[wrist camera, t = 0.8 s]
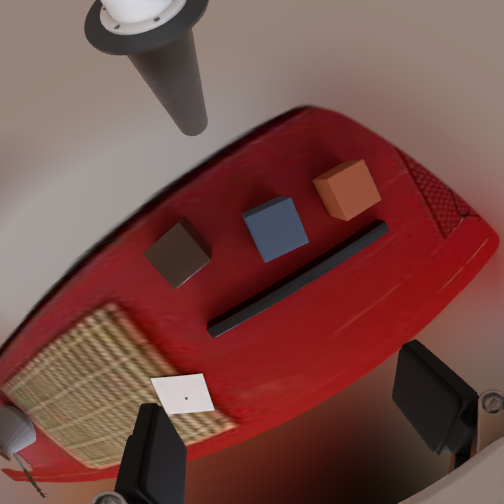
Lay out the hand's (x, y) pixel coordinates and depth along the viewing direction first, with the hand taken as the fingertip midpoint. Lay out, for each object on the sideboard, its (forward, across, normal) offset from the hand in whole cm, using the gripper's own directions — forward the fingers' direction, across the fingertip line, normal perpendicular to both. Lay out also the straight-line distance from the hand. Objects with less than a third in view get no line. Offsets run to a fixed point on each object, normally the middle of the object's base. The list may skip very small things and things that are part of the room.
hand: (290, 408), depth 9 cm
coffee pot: (+25, +58, +33) cm, 71 cm away
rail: (+24, -6, +4) cm, 26 cm away
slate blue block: (+24, -4, -3) cm, 25 cm away
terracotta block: (+24, -13, -6) cm, 28 cm away
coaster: (+24, +13, +20) cm, 34 cm away
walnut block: (+24, +6, -2) cm, 25 cm away
